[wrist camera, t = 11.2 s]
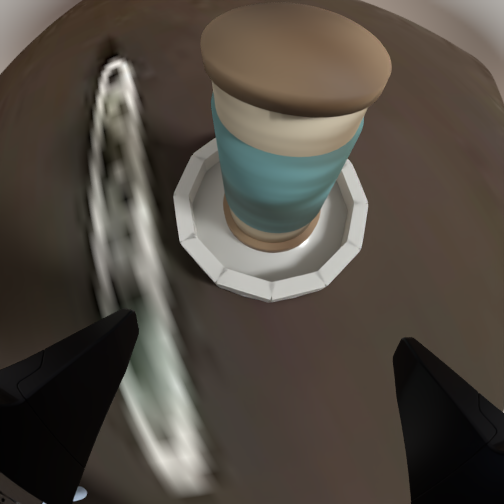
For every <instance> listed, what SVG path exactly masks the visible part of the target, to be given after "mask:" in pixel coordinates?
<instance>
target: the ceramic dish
mask: <svg viewBox="0 0 504 504" xmlns="http://www.w3.org/2000/svg"><path fill="white" fill-rule="evenodd" d="M224 193H225V192H224V186H223V179H222V173H221V167H220V161H219V154H218V148H217V141H216V138H214V139H213V140H211V141H210V142H209V143H207V144H206V145H204V146H203V147H202V148H200V149H199V150H197V151H196V152H195V153H193V155H192V156H191V158H190V160H189V162H188V164H187V166H186V168H185V170H184V173H183V175H182V177H181V179H180V181H179V183H178V185H177V188H176V190H175V192H174V196H173V198H174V205H175V213H176V220H177V227H178V234H179V240H180V243H181V245H182V246H183V247H184V249H185V250H186V251H187V252H188V254H189V255H190V256H191V257H192V258H193V259H194V261H195V262H196V263H197V264H198V265H199V266H200V268H201V269H202V270H203V271H204V272H205V273H206V274H207V275H208V276H209V277H210V279H211V280H212V281H213V282H214V283H215V284H216V285H217V286H219V287H220V288H223V289H226V290H229V291H231V292H233V293H236V294H238V295H241V296H243V297H247V298H252V299H256V300H262V301H265V302H268V303H269V301H270V302H275V301H280V300H286V299H292V298H296V297H299V296H302V295H305V294H308V293H312V292H316V291H320V290H321V289H323V288H325V287H326V286H327V285H328V284H329V283H330V282H331V281H332V280H333V279H334V278H335V277H336V276H337V275H338V274H339V273H340V272H341V271H342V270H343V269H344V268H345V266H346V265H347V264H348V263H349V262H350V261H351V260H352V259H353V258H354V257H355V256H356V255H357V253H358V252H359V251H360V249H361V247H362V242H363V236H364V230H365V224H366V217H367V210H368V201H367V199H366V196H365V194H364V191H363V189H362V186H361V184H360V181H359V179H358V177H357V174H356V172H355V170H354V167H353V165H352V163H350V161H349V160H348V159H347V160H346V162H345V164H344V166H343V168H342V170H341V172H340V174H339V176H338V178H337V180H336V181H335V183H334V185H333V187H332V189H331V191H330V193H329V195H328V197H327V198H326V200H325V202H324V204H323V206H322V208H321V213H320V218H319V220H318V223H317V225H316V227H315V229H314V230H313V232H312V234H311V235H310V236H309V238H308V239H307V240H306V241H305V242H303V243H302V244H301V245H299V246H297V247H296V248H294V249H291V250H289V251H285V252H279V253H267V252H261V251H257V250H254V249H252V248H250V247H248V246H246V245H244V244H243V243H242V242H240V241H239V240H238V239H237V238H236V237H235V236H234V235H233V233H232V232H231V230H230V229H229V227H228V225H227V222H226V219H225V215H224V210H223V198H224Z"/></svg>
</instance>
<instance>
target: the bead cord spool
mask: <svg viewBox="0 0 504 504" xmlns="http://www.w3.org/2000/svg"><path fill="white" fill-rule="evenodd" d="M201 51H202V58H203V64H204V68H205V71H206V73H207V75H208V76H209V78H210V79H211V80H212V85H213V94H212V99H211V109H212V115H213V122H214V128H215V135H216V141H217V148H218V154H219V161H220V167H221V173H222V179H223V186H224V192H225V193H224V198H223V210H224V215H225V219H226V222H227V225H228V227H229V229H230V230H231V232H232V233H233V235H234V236H235V237H236V238H237V239H238V240H239V241H240V242H242V243H243V244H244V245H246V246H248V247H250V248H252V249H254V250H257V251H261V252H267V253H279V252H285V251H289V250H291V249H294V248H296V247H297V246H299V245H301V244H302V243H303V242H305V241H306V240H307V239H308V238H309V236H310V235H311V234H312V232H313V230H314V229H315V227H316V225H317V223H318V220H319V218H320V213H321V208H322V206H323V204H324V202H325V200H326V198H327V197H328V195H329V193H330V191H331V189H332V187H333V185H334V183H335V181H336V180H337V178H338V176H339V174H340V172H341V170H342V168H343V166H344V164H345V162H346V160H347V158H348V156H349V154H350V152H351V150H352V149H353V147H354V145H355V143H356V141H357V139H358V137H359V135H360V133H361V131H362V127H363V122H364V115H365V113H366V111H367V108H368V107H369V106H371V105H372V104H373V103H375V102H376V101H377V99H378V98H379V97H380V95H381V93H382V91H383V89H384V87H385V85H386V83H387V80H388V78H389V76H390V74H391V69H392V66H391V60H390V57H389V55H388V53H387V51H386V49H385V48H384V46H383V45H382V44H381V43H380V41H379V40H378V39H377V38H376V37H375V36H374V35H372V34H371V33H370V32H369V31H367V30H366V29H365V28H363V27H362V26H360V25H359V24H357V23H355V22H354V21H352V20H350V19H348V18H346V17H344V16H341V15H339V14H337V13H334V12H331V11H328V10H325V9H322V8H318V7H314V6H309V5H304V4H297V3H286V2H269V3H258V4H252V5H246V6H242V7H239V8H236V9H233V10H230V11H228V12H226V13H223V14H222V15H220V16H218V17H217V18H215V19H214V20H213V21H211V22H210V23H209V24H208V25H207V26H206V28H205V29H204V31H203V33H202V36H201Z"/></svg>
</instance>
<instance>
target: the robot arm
mask: <svg viewBox="0 0 504 504" xmlns="http://www.w3.org/2000/svg"><path fill="white" fill-rule="evenodd" d="M138 334H139V328H138V323H137V318H136V313H135V311H134V310H131V309H126V308H123V309H121V310H119V311H117V312H115V313H113V314H111V315H109V316H107V317H105V318H103V319H101V320H99V321H97V322H96V323H94V324H92V325H90V326H88V327H86V328H84V329H82V330H80V331H78V332H76V333H74V334H73V335H71V336H69V337H67V338H65V339H63V340H61V341H59V342H57V343H55V344H53V345H52V346H50V347H48V348H46V349H45V350H42V351H40V352H38V353H36V354H34V355H32V356H30V357H28V358H26V359H24V360H22V361H20V362H18V363H15V364H13V365H11V366H8V367H6V368H4V369H1V370H0V504H42V503H43V502H44V503H46V504H72V502H73V500H74V497H75V494H76V491H77V488H78V485H79V483H80V480H81V477H82V475H83V472H84V468H85V466H86V463H87V461H88V458H89V456H90V453H91V451H92V448H93V446H94V443H95V441H96V438H97V436H98V433H99V431H100V429H101V426H102V424H103V422H104V419H105V417H106V415H107V412H108V410H109V408H110V405H111V403H112V401H113V399H114V396H115V394H116V392H117V390H118V387H119V385H120V383H121V381H122V379H123V377H124V374H125V372H126V369H127V367H128V364H129V361H130V358H131V355H132V352H133V349H134V346H135V343H136V340H137V337H138ZM393 367H394V376H395V386H396V396H397V402H398V408H399V413H400V418H401V424H402V430H403V436H404V443H405V449H406V457H407V465H408V473H409V483H410V494H411V504H504V413H503V412H502V411H500V410H499V409H498V408H497V407H495V406H494V405H493V404H492V403H490V402H489V401H488V400H487V399H486V398H485V397H483V396H482V395H481V394H480V393H478V391H477V390H475V389H474V388H473V387H472V386H471V385H470V384H468V383H467V382H466V381H465V380H464V379H463V378H461V377H460V376H459V375H458V374H457V373H455V372H454V371H453V370H452V369H451V368H450V367H448V366H447V365H446V364H445V363H444V362H442V361H441V360H440V359H439V358H438V357H436V356H435V355H434V354H433V353H432V352H430V351H429V350H428V349H427V348H425V347H424V346H423V345H422V344H421V343H419V342H418V341H417V340H416V339H414V338H412V337H404V338H402V339H401V341H400V343H399V345H398V347H397V349H396V351H395V353H394V356H393Z"/></svg>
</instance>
